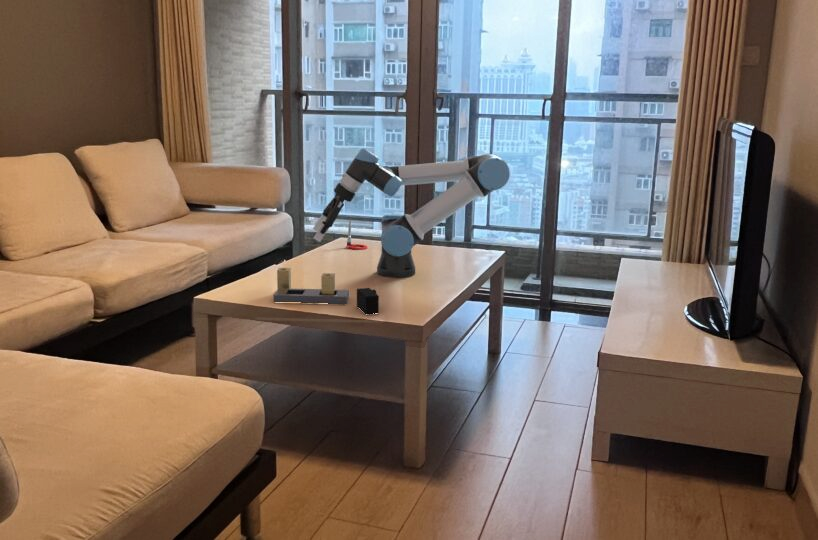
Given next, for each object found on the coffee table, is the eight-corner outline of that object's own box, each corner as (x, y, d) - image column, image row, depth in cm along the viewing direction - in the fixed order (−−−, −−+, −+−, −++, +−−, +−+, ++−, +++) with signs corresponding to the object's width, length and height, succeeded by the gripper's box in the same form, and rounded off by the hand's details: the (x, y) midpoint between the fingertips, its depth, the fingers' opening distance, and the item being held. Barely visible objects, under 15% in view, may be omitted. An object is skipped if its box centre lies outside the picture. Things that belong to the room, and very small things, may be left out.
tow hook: (368, 247, 351) (348, 245, 351) (370, 219, 347) (350, 218, 348) (365, 251, 342) (345, 249, 343) (367, 223, 339) (346, 221, 340)
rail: (348, 299, 262) (348, 289, 261) (346, 307, 253) (346, 296, 252) (278, 298, 262) (278, 288, 261) (273, 305, 253) (273, 295, 252)
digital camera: (382, 316, 244) (382, 295, 242) (365, 317, 242) (366, 296, 240) (372, 307, 253) (372, 287, 252) (356, 308, 251) (356, 288, 250)
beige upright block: (334, 299, 259) (334, 273, 257) (333, 302, 255) (333, 276, 253) (323, 299, 259) (322, 273, 257) (321, 302, 255) (321, 275, 253)
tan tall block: (291, 292, 269) (290, 267, 267) (289, 295, 265) (288, 270, 263) (279, 292, 269) (279, 267, 267) (277, 295, 265) (277, 269, 263)
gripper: (337, 175, 290) (307, 221, 294) (340, 189, 267) (307, 238, 270) (353, 186, 292) (323, 231, 296) (358, 200, 269) (325, 249, 272)
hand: (316, 235), depth 283 cm, fingers open, 13 cm apart
